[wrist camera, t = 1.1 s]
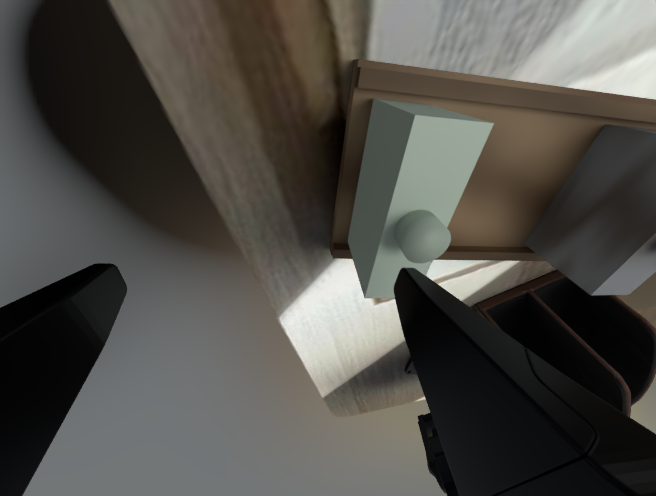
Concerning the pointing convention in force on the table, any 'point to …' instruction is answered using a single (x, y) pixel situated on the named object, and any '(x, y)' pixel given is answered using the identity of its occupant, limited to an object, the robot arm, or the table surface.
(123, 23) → the table surface
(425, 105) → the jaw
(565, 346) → the letter holder
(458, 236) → the brown boxy piece
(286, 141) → the table surface
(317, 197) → the table surface
